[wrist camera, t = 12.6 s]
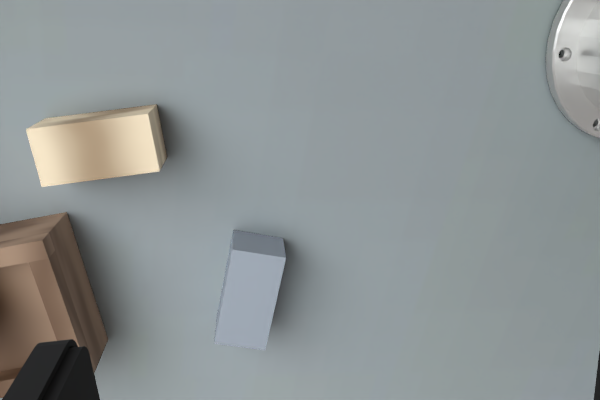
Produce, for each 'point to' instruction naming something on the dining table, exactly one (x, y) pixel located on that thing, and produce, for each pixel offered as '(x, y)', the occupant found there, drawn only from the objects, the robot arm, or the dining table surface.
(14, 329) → the walnut tray
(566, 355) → the dining table surface
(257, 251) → the slate brick
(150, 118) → the maple brick
